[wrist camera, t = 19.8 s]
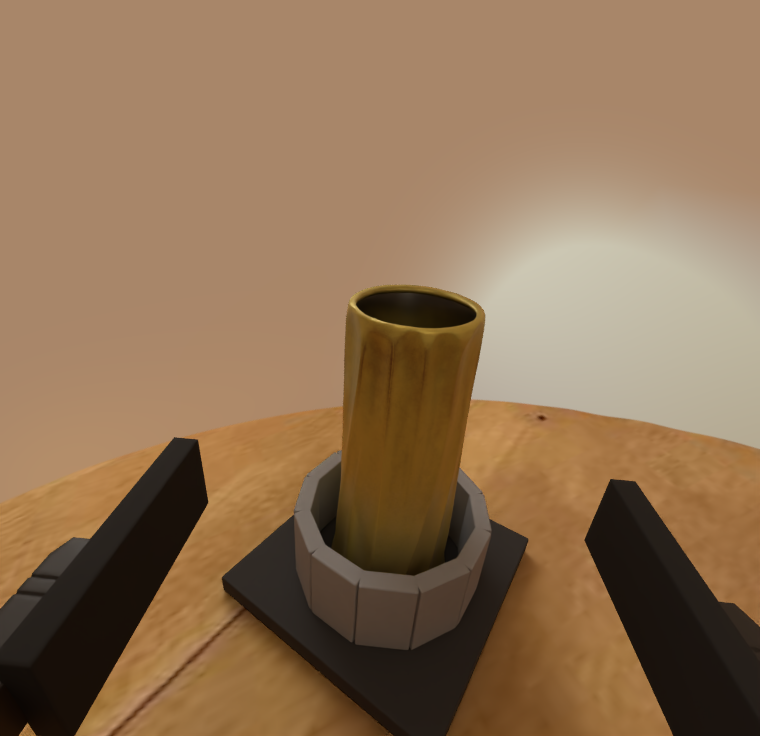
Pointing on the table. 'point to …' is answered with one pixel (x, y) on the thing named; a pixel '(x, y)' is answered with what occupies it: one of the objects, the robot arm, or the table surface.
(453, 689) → the socket pad
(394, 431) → the vase
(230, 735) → the table surface
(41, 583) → the robot arm
